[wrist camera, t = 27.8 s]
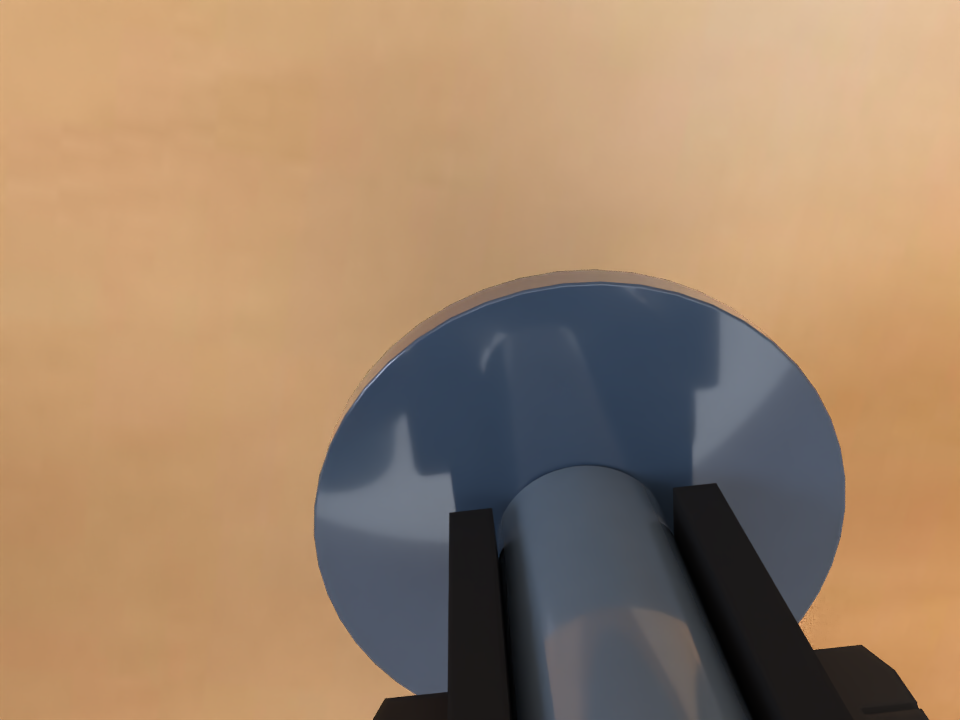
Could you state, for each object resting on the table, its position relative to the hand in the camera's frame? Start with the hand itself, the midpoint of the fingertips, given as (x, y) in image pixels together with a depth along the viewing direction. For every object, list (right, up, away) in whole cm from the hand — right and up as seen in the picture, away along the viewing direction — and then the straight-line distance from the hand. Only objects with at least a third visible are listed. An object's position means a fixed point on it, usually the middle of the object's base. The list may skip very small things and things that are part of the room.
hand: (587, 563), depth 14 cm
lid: (0, +1, +1) cm, 2 cm away
